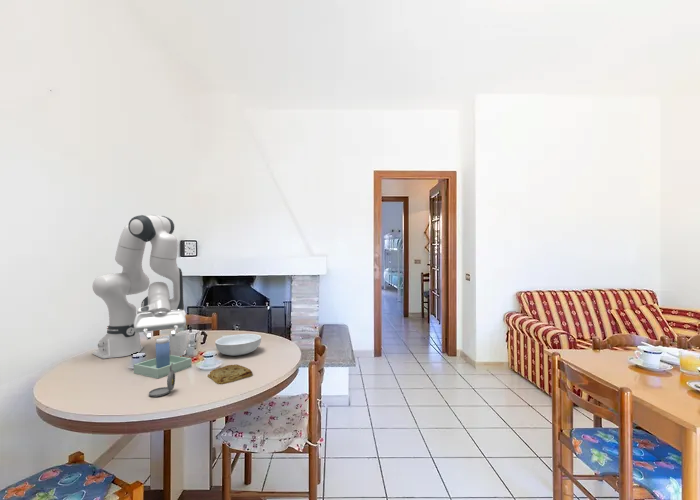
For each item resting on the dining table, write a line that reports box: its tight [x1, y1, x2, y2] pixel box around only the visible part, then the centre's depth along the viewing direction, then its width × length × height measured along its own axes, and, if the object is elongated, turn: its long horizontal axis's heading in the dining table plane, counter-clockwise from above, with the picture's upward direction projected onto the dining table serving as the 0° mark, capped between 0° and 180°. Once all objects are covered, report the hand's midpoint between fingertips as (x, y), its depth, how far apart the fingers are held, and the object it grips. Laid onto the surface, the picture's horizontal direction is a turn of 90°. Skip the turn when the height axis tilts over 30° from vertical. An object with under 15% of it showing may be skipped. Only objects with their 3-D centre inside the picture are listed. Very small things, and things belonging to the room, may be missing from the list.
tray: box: [133, 354, 193, 379], centre depth 142 cm, size 15×15×4 cm
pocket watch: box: [148, 363, 176, 398], centre depth 118 cm, size 8×8×10 cm
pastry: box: [207, 364, 253, 385], centre depth 134 cm, size 17×17×3 cm
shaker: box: [155, 336, 171, 368], centre depth 142 cm, size 5×5×12 cm
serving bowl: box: [214, 333, 262, 357], centre depth 165 cm, size 21×21×7 cm
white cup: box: [168, 331, 189, 357], centre depth 163 cm, size 8×8×10 cm
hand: (161, 337), depth 148 cm, fingers open, 8 cm apart
